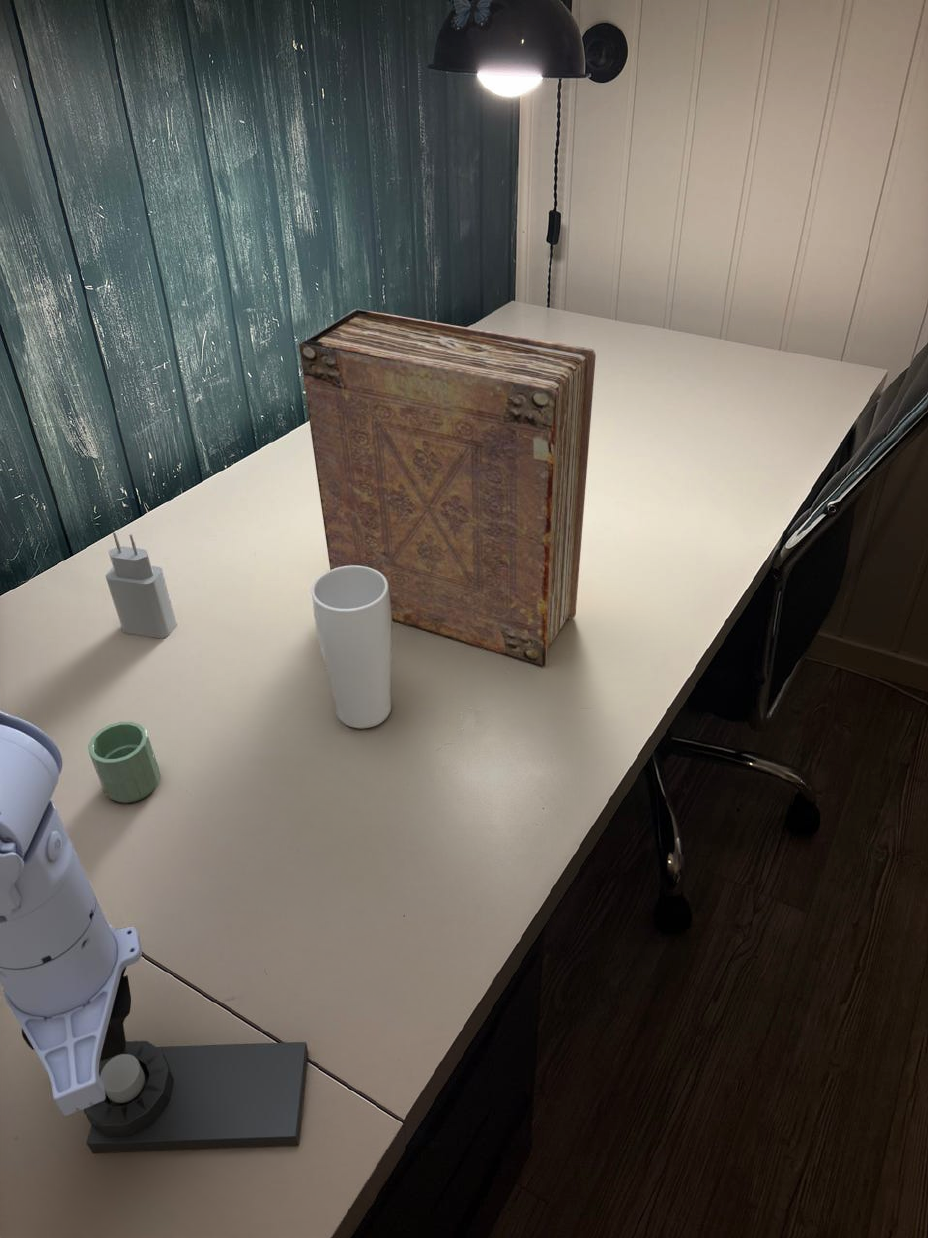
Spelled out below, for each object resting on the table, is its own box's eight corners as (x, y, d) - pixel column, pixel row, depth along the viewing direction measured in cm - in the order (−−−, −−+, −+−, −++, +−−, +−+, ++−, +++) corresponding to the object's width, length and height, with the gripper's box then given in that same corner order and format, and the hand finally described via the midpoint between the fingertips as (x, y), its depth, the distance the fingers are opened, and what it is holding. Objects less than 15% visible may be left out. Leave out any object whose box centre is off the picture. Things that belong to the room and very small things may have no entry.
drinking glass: (404, 689, 91) (394, 565, 81) (393, 739, 85) (382, 613, 76) (336, 685, 91) (319, 562, 82) (322, 735, 86) (301, 609, 76)
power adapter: (134, 614, 101) (106, 522, 93) (179, 621, 100) (154, 528, 92) (119, 632, 98) (89, 538, 91) (165, 639, 97) (139, 545, 90)
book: (577, 617, 99) (598, 349, 80) (544, 669, 93) (559, 391, 74) (376, 559, 108) (352, 307, 89) (333, 602, 102) (298, 340, 83)
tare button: (101, 1104, 57) (95, 1093, 56) (112, 1066, 59) (105, 1054, 58) (140, 1103, 57) (134, 1092, 56) (149, 1064, 59) (143, 1053, 58)
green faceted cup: (108, 812, 79) (91, 769, 76) (102, 774, 82) (85, 731, 79) (165, 795, 80) (150, 751, 77) (156, 758, 84) (142, 715, 80)
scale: (81, 1154, 58) (68, 1133, 56) (107, 1058, 62) (96, 1036, 60) (298, 1146, 58) (292, 1125, 56) (308, 1051, 62) (303, 1029, 61)
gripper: (137, 1012, 43) (195, 1136, 51) (102, 794, 53) (155, 927, 62) (-25, 1074, 41) (63, 1193, 49) (-28, 834, 51) (45, 966, 60)
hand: (106, 1048), depth 55 cm, fingers closed
